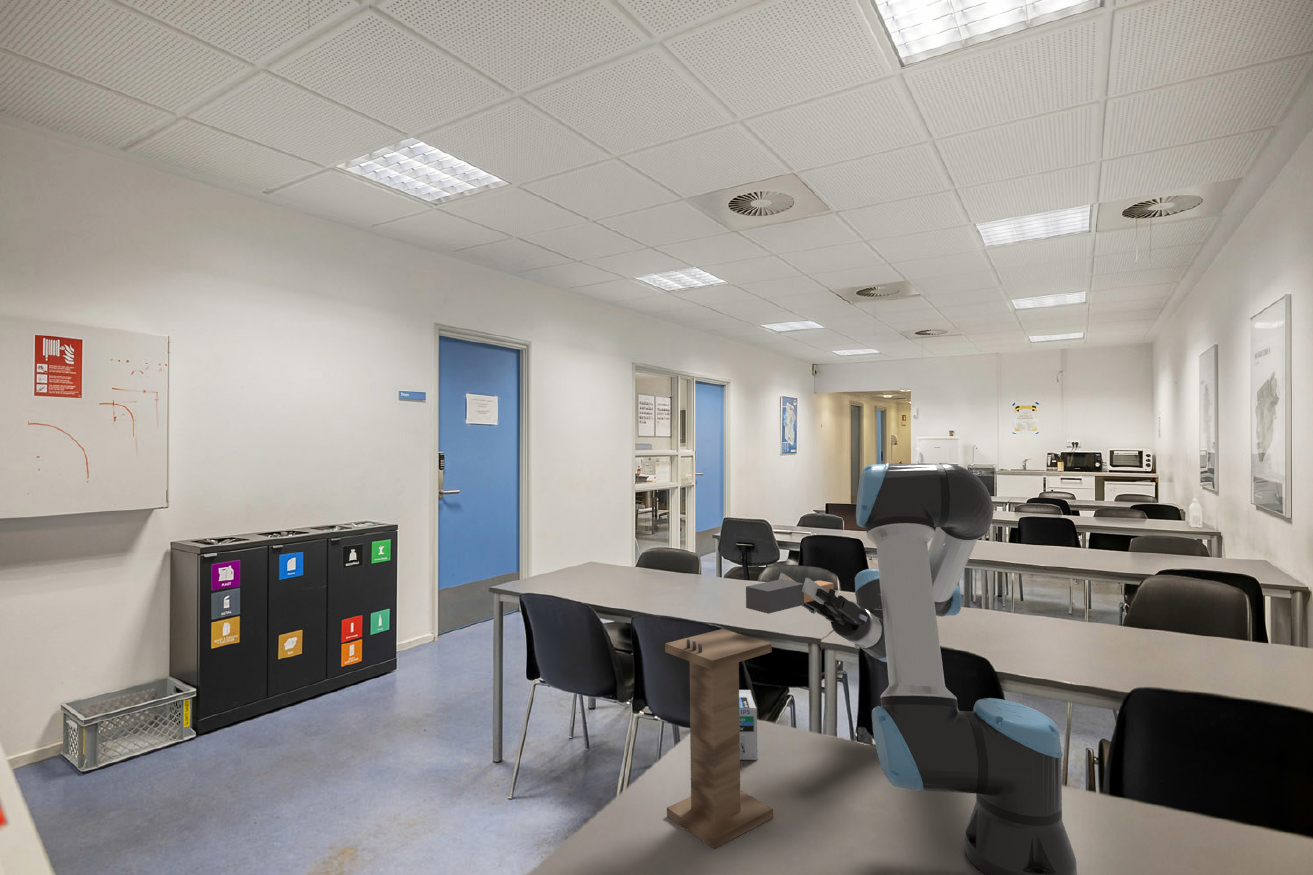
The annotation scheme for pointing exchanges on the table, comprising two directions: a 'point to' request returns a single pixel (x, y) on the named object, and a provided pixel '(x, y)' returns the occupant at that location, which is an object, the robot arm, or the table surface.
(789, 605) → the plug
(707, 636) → the stand
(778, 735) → the table surface
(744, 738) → the light bulb box
